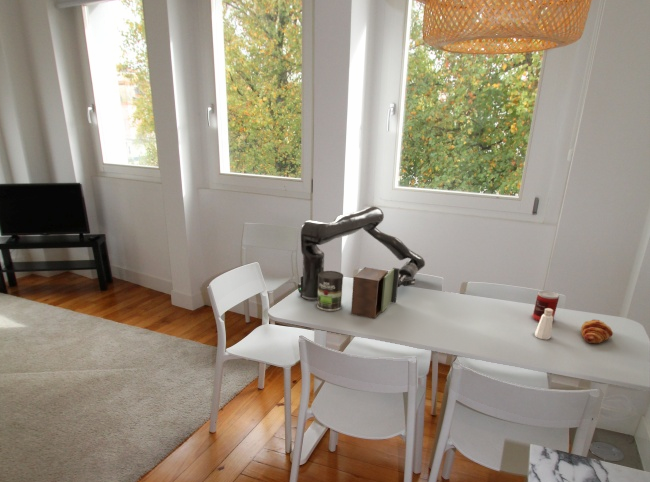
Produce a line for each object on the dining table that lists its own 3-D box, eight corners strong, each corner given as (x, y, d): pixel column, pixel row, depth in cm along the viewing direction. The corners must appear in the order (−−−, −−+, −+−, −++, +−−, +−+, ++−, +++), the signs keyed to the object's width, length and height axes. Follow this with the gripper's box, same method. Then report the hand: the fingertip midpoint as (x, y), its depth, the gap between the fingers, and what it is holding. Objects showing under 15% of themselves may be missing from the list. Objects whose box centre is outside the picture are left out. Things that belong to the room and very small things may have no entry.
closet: (384, 306, 198) (388, 270, 191) (374, 318, 186) (378, 280, 180) (362, 302, 202) (364, 267, 195) (351, 314, 190) (353, 276, 183)
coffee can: (336, 312, 191) (338, 280, 185) (313, 308, 194) (314, 276, 189) (344, 304, 200) (346, 272, 194) (322, 300, 203) (323, 269, 197)
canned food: (552, 317, 191) (559, 292, 187) (553, 324, 185) (559, 298, 180) (532, 314, 194) (538, 289, 190) (531, 321, 188) (538, 295, 183)
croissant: (589, 333, 186) (583, 314, 185) (618, 329, 179) (612, 309, 178) (578, 351, 170) (572, 330, 170) (609, 347, 164) (603, 325, 163)
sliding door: (396, 301, 202) (399, 268, 196) (386, 313, 190) (390, 278, 184) (390, 300, 203) (393, 267, 197) (380, 312, 191) (383, 277, 185)
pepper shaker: (549, 341, 171) (556, 313, 167) (533, 337, 174) (540, 310, 169) (551, 335, 175) (558, 308, 171) (535, 332, 178) (542, 305, 173)
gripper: (419, 284, 216) (410, 296, 201) (391, 279, 221) (380, 291, 206) (421, 268, 213) (412, 279, 198) (392, 264, 217) (381, 274, 203)
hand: (395, 285), depth 202 cm, fingers closed
